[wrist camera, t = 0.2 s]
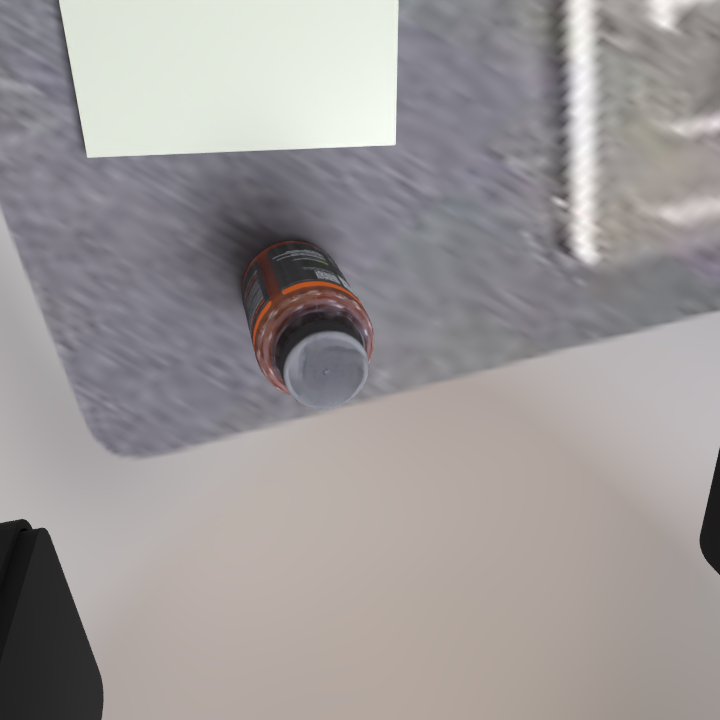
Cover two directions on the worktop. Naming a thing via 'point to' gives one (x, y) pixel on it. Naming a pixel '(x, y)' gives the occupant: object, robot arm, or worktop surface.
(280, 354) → the supplement bottle
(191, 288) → the worktop surface
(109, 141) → the sage mat
